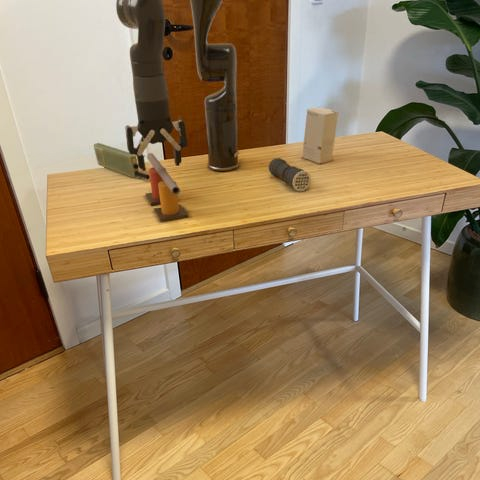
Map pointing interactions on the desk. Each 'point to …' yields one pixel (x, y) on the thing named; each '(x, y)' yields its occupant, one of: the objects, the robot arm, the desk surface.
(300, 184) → the flashlight
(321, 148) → the pale wooden block
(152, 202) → the red peg stand
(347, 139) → the desk surface
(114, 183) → the desk surface
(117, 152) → the handheld radio
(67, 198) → the desk surface
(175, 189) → the metal rod
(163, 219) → the ochre post
